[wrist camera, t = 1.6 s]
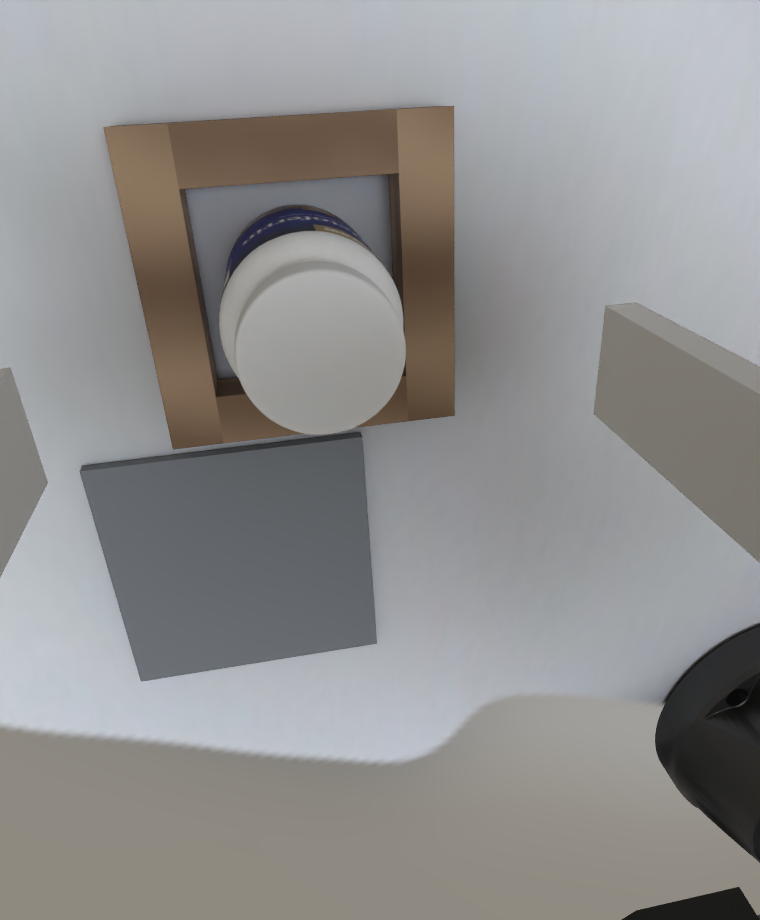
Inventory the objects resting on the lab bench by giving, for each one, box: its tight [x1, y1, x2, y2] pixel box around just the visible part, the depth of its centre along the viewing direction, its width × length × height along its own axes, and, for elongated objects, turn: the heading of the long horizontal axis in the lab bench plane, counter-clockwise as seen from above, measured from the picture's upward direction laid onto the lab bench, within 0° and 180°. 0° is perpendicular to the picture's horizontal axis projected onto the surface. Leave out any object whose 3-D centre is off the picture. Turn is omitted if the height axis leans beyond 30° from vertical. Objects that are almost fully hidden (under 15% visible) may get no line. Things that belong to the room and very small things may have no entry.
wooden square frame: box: [104, 106, 455, 449], centre depth 26 cm, size 12×12×2 cm
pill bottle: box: [219, 205, 406, 435], centre depth 23 cm, size 6×6×10 cm
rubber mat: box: [80, 433, 377, 681], centre depth 32 cm, size 12×12×1 cm
